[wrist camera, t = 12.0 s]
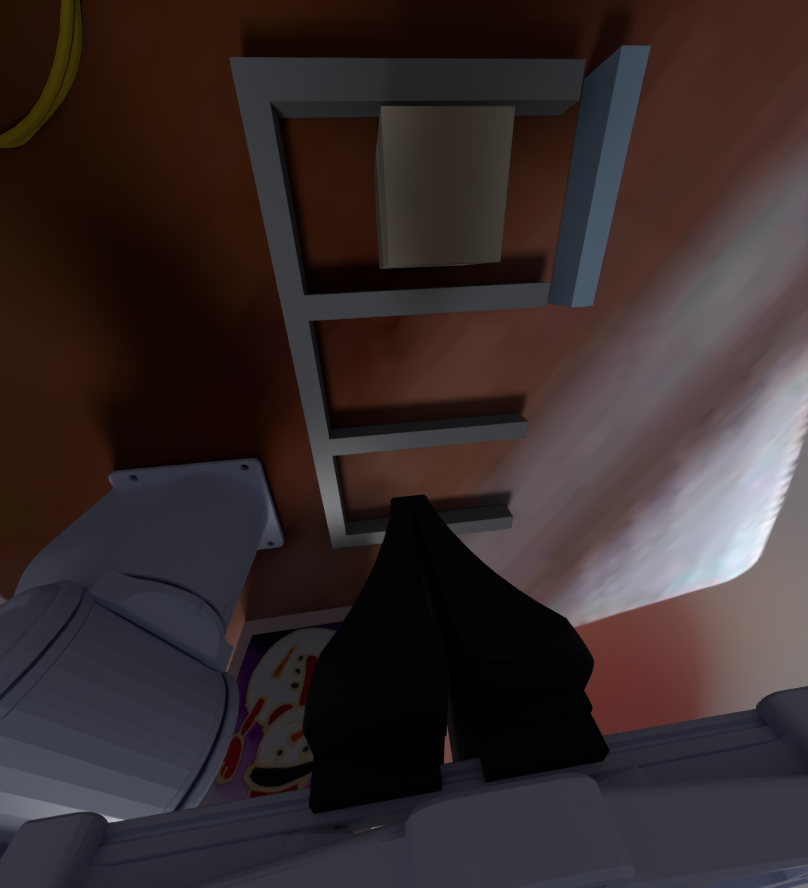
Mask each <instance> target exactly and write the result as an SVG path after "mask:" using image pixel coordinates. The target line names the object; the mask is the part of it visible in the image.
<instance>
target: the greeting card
mask: <svg viewBox="0 0 808 888" xmlns="http://www.w3.org/2000/svg"><path fill="white" fill-rule="evenodd" d="M352 606H353V605H352ZM352 606H345V607H338V608H332V609H325V610H319V611H312V612H305V613H299V614H292V615H285V616H279V617H272V618H266V619H259V620H252V621H246V622H245V623H244V626H243V629H242V632H241V635H240V638H239V641H238V644H237V647H236V649H235V652H234V655H233V658H232V661H231V664H230V667H229V670H228V673H229V674H230V675H232V676H233V678H234V679H235V681H236V683H237V686H238V690H239V709H238V716H237V721H236V725H235V729H234V733H233V736H232V739H231V742H230V745H229V748H228V750H227V753H226V756H225V758H224V760H223V763H222V765H221V767H220V769H219V771H218V773H217V775H216V777H215V779H214V781H213V782H212V784H211V786H210V787H209V789H208V791H207V792H206V794H205V796H204V797H203V799H202V800H201V802H200V803H199V805H198V806H197V807H202V806H207V805H213V804H219V803H224V802H230V801H236V800H241V799H247V798H253V797H258V796H264V795H270V794H275V793H281V792H287V791H292V790H298V789H304V788H310V786H311V777H312V767H313V757H314V756H313V754H312V752H311V750H310V747H309V745H308V743H307V741H306V738H305V736H304V734H303V727H302V725H303V718H304V710H305V703H306V697H307V693H308V689H309V685H310V681H311V678H312V675H313V672H314V669H315V666H316V663H317V661H318V658H319V655H320V653H321V651H322V650H323V649H324V647H325V646H326V645H327V643H328V642H329V640H330V639H331V638H332V636H333V635H334V634H335V632H336V631H337V629H338V628H339V627H340V625H341V624H342V622H343V621H344V619H345V617H346V616H347V614H348V613H349V611H350V609H351V608H352ZM368 830H371V828H367V829H361V830H356V831H353V832H354V834H358V833H361V832H364V831H368Z"/></svg>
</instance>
